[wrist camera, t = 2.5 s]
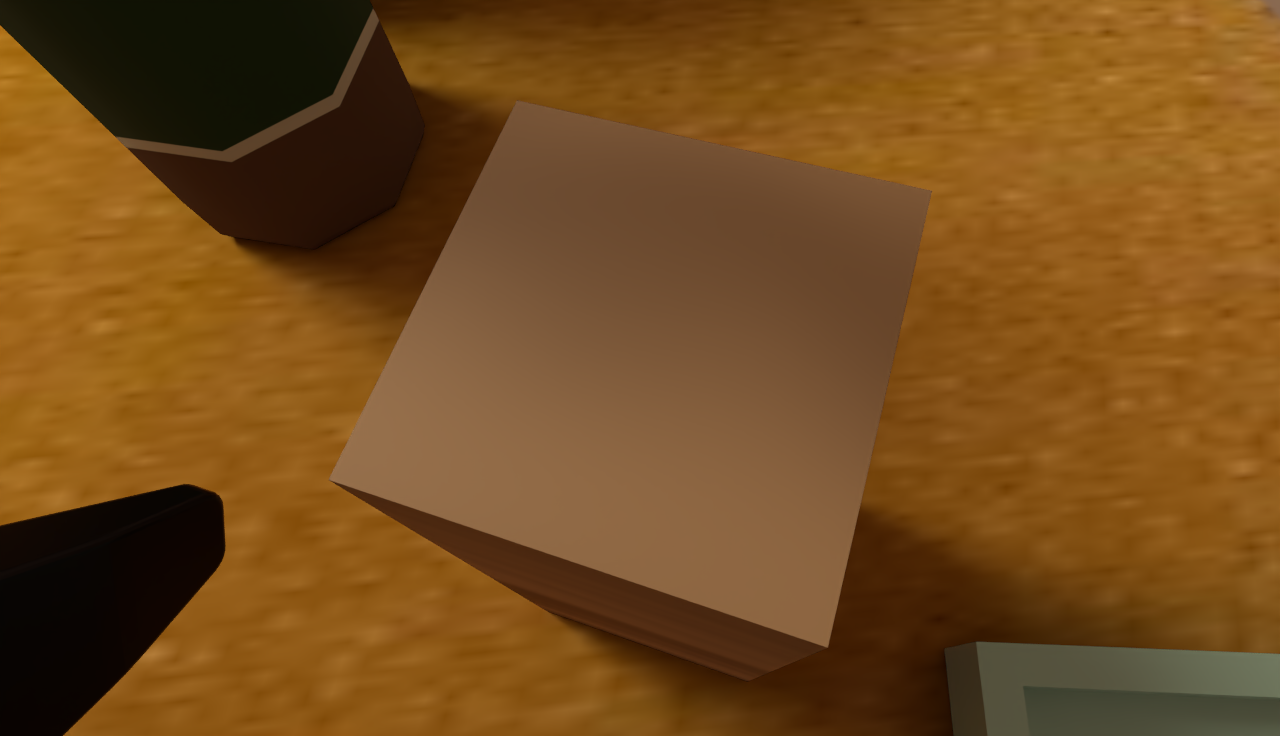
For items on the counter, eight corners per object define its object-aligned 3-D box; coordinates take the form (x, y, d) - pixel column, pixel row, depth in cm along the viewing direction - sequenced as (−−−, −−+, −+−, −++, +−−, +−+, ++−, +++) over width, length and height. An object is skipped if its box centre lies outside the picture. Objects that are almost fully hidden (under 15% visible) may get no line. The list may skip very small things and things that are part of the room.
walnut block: (747, 681, 18) (827, 648, 7) (547, 610, 19) (328, 479, 8) (800, 479, 19) (931, 191, 8) (615, 424, 20) (516, 100, 9)
